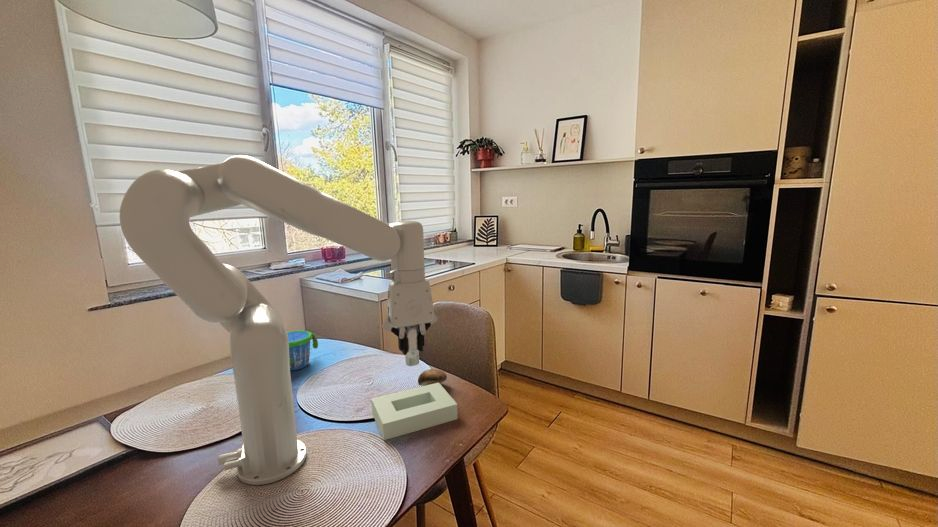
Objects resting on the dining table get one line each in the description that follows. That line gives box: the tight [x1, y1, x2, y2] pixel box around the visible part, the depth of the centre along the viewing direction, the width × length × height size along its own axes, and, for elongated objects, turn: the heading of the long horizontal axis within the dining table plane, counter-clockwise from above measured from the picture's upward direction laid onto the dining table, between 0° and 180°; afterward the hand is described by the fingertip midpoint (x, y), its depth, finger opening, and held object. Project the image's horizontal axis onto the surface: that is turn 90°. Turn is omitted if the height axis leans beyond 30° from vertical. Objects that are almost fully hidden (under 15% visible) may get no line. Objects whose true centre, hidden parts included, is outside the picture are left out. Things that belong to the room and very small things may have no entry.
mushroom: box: [417, 368, 448, 387], centre depth 107 cm, size 8×8×6 cm
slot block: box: [371, 383, 458, 441], centre depth 94 cm, size 18×12×4 cm, turn 116°
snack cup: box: [286, 329, 319, 371], centre depth 121 cm, size 16×10×10 cm
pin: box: [404, 325, 420, 367], centre depth 91 cm, size 3×3×10 cm
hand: (411, 350), depth 91 cm, fingers closed on pin, 3 cm apart
